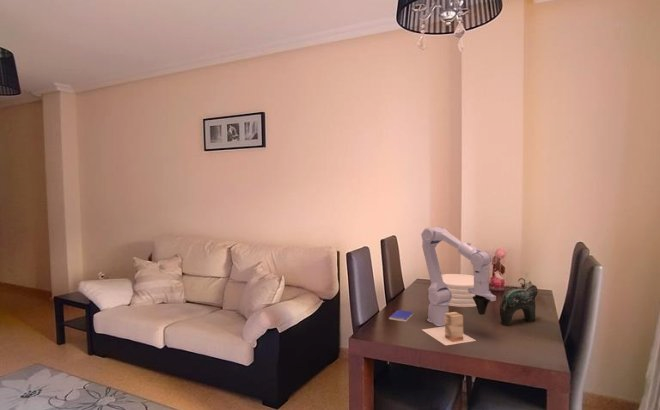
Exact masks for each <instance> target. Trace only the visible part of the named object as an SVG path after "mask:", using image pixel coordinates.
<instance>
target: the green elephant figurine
mask: <svg viewBox="0 0 660 410" xmlns="http://www.w3.org/2000/svg"><path fill="white" fill-rule="evenodd" d="M521 280H523V283H522V282H520V281H521ZM517 282H518V283H519V282H520V283H519V284H520V285H521V286H520V287H516V286H510V287H509V288H506V289H505V291H504V294H503V295H502V298H501V300H500V303H499V316H500V323H501V325H502V326H505V327H511V325H512V321H513V315H514V314H515V313H516V312H517V311H519V310H522V312H523V317H524V320H525V321H528V322H534V321H536V297H537V295H538V288H537V286H536V285H535V284H532V282H531V280H529V281H528V282H527V283H526V280H525V279H524V278H522V277H520V278H518V280H517Z"/></svg>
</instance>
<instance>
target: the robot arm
mask: <svg viewBox="0 0 660 410" xmlns="http://www.w3.org/2000/svg"><path fill="white" fill-rule="evenodd" d="M420 235H421V239H422V241H421V242H422V243H421V245H422V246H421V247H422V251H423V255H424V260H425V263H426V268H427V273H428V276H429V280H430V286H429V287H428V289H427V290H428V301H429V302H430V303H429V304H428V307H427V308H428V309H427V310H428V312H427V314H428V317H427V319H426V321H427V322H429V323H430V324H431V323H432V324H434V325H435V326H437V327H443V326H445V313H450V312H449V307H450V306H449V305H448V304H449V301H450V300H451V298H452V294H451V291H450V290H449V288H448V285H447V284H446V283H444V282H443V279H442V272H441V267H440V263H439V259H438V256H437V252H436V251H437V250H436V247H437V245H438V244H440V243H441V242H442V241H443V242H445V243H447V244H449V245H450V246H452V247H453V248H455V249H457V252H458V254H459V255H462V257H465V259H467V260H469V261H470V263H471V265H472V270H473V276H474V288H468V293H473V294H475V296H473V300H474V301H475V304H476V306H475V307H476V309H477V313H478V315H480V316H482V315H485V314H486V310H487V307H488V305H489V303H490V302H495V301H497V296H496V295H495V294H493V293H491V290H490V285H489V283H490V282H489V281H490V280H489V271H490V270H489V265H490V264H491V262H492V257H491V255H490V253H488V251H486V250H483V251H482V250H481V249H480V248H477V247H475V246H474V245H472V243H471V242H470V241H463V242H462V241H461V240H460V239H459V238H457V237H456V236H454V235H453V234H451V233H450V232H449V231H448V230H447V229H446V228H444V227H443V226H435V227H426V228H424V229H423V230H422V232H421V234H420ZM438 289H439V290H438Z"/></svg>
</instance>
